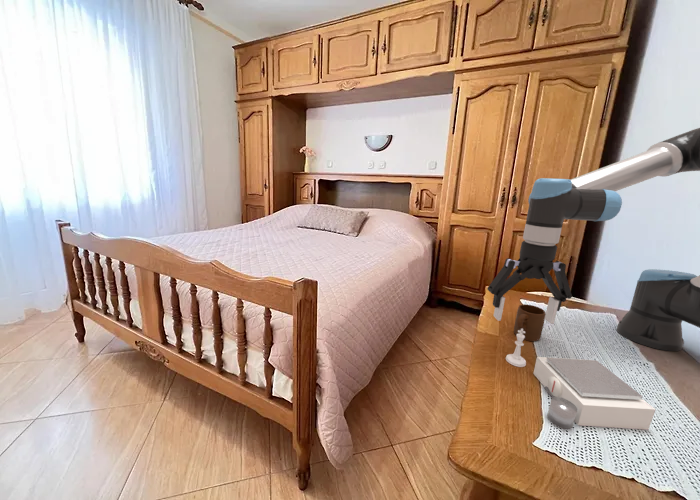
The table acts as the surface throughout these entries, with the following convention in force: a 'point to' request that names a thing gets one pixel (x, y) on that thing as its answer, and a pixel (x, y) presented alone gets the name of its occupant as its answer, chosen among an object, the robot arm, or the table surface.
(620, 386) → the textured square plate
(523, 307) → the mug
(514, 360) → the chess piece
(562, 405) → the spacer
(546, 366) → the scale
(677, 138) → the robot arm
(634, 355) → the table surface
